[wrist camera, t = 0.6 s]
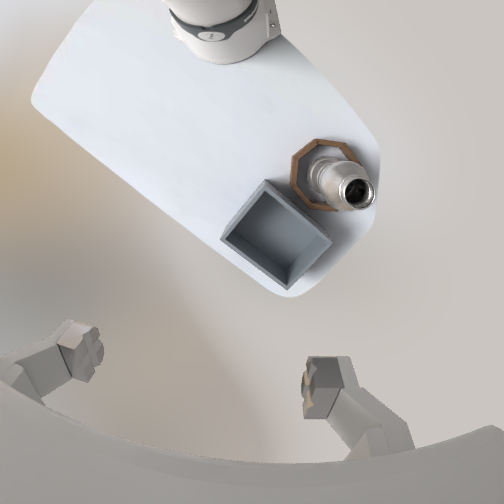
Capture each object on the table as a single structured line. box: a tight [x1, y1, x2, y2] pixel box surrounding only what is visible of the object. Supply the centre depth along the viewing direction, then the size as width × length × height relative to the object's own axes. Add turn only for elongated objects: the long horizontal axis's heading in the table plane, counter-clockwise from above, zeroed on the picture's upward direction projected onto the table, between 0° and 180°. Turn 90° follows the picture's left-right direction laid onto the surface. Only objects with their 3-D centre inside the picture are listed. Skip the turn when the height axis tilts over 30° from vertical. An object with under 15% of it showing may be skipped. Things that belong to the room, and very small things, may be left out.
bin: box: [220, 180, 333, 290], centre depth 47 cm, size 14×11×7 cm
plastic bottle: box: [307, 156, 376, 211], centre depth 37 cm, size 6×7×20 cm
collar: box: [290, 139, 362, 211], centre depth 45 cm, size 12×12×3 cm
